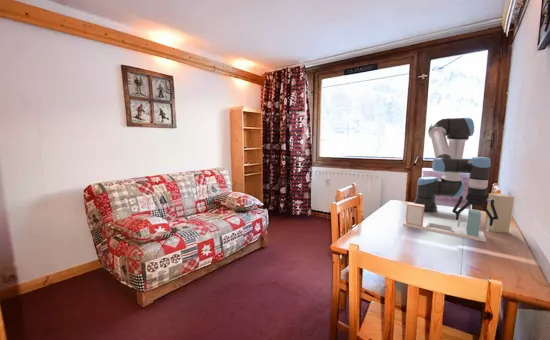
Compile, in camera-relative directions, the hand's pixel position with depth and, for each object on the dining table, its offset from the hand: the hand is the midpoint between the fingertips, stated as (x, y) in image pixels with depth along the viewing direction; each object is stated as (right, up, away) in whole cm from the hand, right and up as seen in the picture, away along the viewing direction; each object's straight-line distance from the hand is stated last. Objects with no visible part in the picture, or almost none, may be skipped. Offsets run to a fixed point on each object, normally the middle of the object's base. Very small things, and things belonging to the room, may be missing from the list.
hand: (472, 228), depth 129 cm
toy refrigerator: (+18, -4, +7) cm, 20 cm away
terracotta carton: (-24, -1, +12) cm, 27 cm away
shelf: (-11, -3, +7) cm, 14 cm away
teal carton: (0, -3, 0) cm, 3 cm away
